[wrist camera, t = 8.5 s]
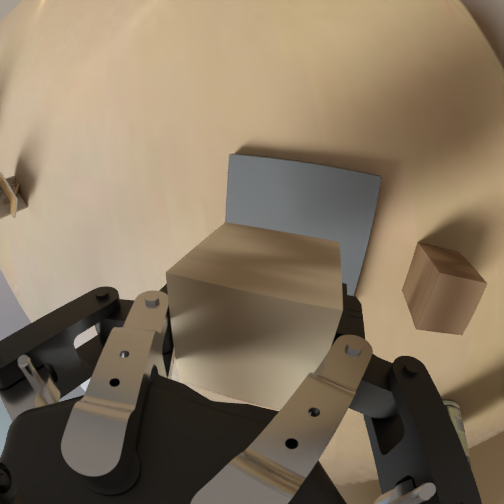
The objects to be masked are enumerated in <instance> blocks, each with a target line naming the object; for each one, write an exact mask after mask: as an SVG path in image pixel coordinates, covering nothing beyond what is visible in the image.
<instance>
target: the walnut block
mask: <svg viewBox="0 0 504 504" xmlns="http://www.w3.org/2000/svg"><path fill="white" fill-rule="evenodd" d="M486 285H487V283H486V281H485V280H484V279H483V278H482V277H481V276H480V274H479V273H478V272H477V271H476V270H475V269H474V268H473V267H472V265H471V264H470V263H469V262H468V261H467V260H466V259H465V258H464V257H463V256H462V255H461V254H460V253H459V252H455V251H451V250H447V249H443V248H439V247H435V246H431V245H427V244H423V243H417V246H416V249H415V253H414V256H413V259H412V262H411V265H410V268H409V271H408V274H407V277H406V280H405V283H404V286H403V288H402V292H403V294H404V297H405V299H406V302H407V305H408V308H409V310H410V313H411V316H412V319H413V322H414V325H415V328H416V329H418V330H426V331H433V332H441V333H449V334H457V335H463V333H464V331H465V329H466V327H467V325H468V323H469V322H470V320H471V318H472V316H473V314H474V312H475V310H476V308H477V305H478V303H479V301H480V299H481V297H482V295H483V292H484V290H485V288H486Z"/></svg>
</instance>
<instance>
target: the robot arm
mask: <svg viewBox="0 0 504 504" xmlns="http://www.w3.org/2000/svg"><path fill="white" fill-rule="evenodd" d="M342 295H343V312H342V315H341V318H340V321H339V324H338V327H337V330H336V333H335V336H334V339H333V342H332V345H331V348H330V350H329V351H328V353H327V354H326V356H325V357H324V359H323V360H322V362H321V363H320V365H319V366H318V368H317V369H316V371H315V372H314V373H312V372H310V373H309V374H308V375H307V377H306V378H305V379H304V381H303V382H302V383H301V385H300V386H299V387H298V388H297V390H296V391H295V392H294V394H293V395H292V396H291V397H290V399H289V400H288V401H287V403H286V404H285V405H284V406H283V407H282V409H281V410H280V411H275V410H270V409H266V408H261V407H257V406H253V405H249V404H238V403H225V402H215V401H211V400H209V399H207V398H206V397H204V396H202V395H201V394H199V393H197V392H196V391H194V390H192V389H191V388H189V387H188V386H186V385H185V384H182V383H179V382H176V381H174V380H171V376H172V370H173V364H174V359H175V351H174V344H173V336H172V328H171V320H170V311H169V302H168V291H167V284H166V285H165V286H164V287H163V288H162V289H161V290H160V291H147V292H144V293H141V294H140V295H138V296H137V297H136V299H135V301H133V300H122V299H119V294H118V291H117V290H116V289H115V288H112V287H99V288H96V289H94V290H92V291H90V292H88V293H86V294H84V295H82V296H81V297H79V298H77V299H75V300H73V301H71V302H69V303H67V304H65V305H64V306H62V307H60V308H58V309H56V310H54V311H53V312H51V313H49V314H47V315H45V316H43V317H42V318H40V319H38V320H36V321H34V322H33V323H31V324H29V325H27V326H26V327H24V328H22V329H20V330H19V331H17V332H15V333H13V334H12V335H10V336H9V337H7V338H5V339H3V340H1V341H0V397H1V399H2V401H3V403H4V405H5V407H6V409H7V411H8V413H9V415H10V417H11V419H12V421H13V422H12V424H11V425H10V427H9V430H8V433H7V438H6V443H5V446H4V449H3V452H2V455H1V457H0V504H346V502H345V501H344V499H343V498H342V496H341V495H340V493H339V492H338V490H337V489H336V487H335V485H334V484H333V482H332V481H331V479H330V478H329V476H328V475H327V473H326V472H325V470H324V468H323V467H322V465H321V464H320V462H319V460H318V459H319V458H320V456H321V455H322V453H323V452H324V450H325V448H326V447H327V445H328V443H329V442H330V440H331V438H332V437H333V435H334V433H335V432H336V430H337V428H338V426H339V424H340V423H341V421H342V419H343V417H344V415H345V413H346V411H347V410H348V408H350V409H353V410H355V411H357V412H360V413H362V414H364V420H365V423H366V427H367V431H368V435H369V439H370V443H371V447H372V451H373V455H374V460H375V464H376V468H377V473H378V478H379V482H380V487H381V492H382V495H381V496H380V497H379V498H377V500H376V501H375V503H374V504H482V503H481V498H480V495H479V492H478V488H477V485H476V482H475V479H474V476H473V473H472V470H471V467H470V465H469V462H468V459H467V456H466V454H465V451H464V449H463V446H462V444H461V441H460V439H459V436H458V434H457V432H456V429H455V427H454V425H453V422H452V420H451V418H450V416H449V413H448V411H447V409H446V407H445V405H444V403H443V401H442V399H441V397H440V395H439V392H438V390H437V388H436V386H435V384H434V383H433V381H432V379H431V377H430V375H429V373H428V371H427V369H426V367H425V366H424V364H423V363H422V362H421V361H419V360H418V359H416V358H414V357H410V356H400V357H398V358H396V359H395V360H394V362H393V363H391V362H388V361H386V360H383V359H381V358H378V357H377V356H375V355H374V354H373V350H372V347H371V345H370V344H369V343H368V342H367V341H366V340H365V332H364V323H363V314H362V306H361V303H360V302H359V300H358V299H357V297H356V296H350V295H347V284H346V283H342ZM94 325H95V327H96V331H97V334H98V335H97V336H95V337H94V338H92V339H91V340H89V341H87V342H86V343H84V344H83V345H81V346H80V347H78V348H76V349H75V347H74V339H75V338H76V336H77V335H79V334H81V333H82V332H84V331H85V330H87V329H89V328H90V327H92V326H94ZM89 378H91V379H90V382H89V385H88V387H87V390H86V392H85V395H83V396H80V397H76V398H72V399H69V400H65V401H61V402H59V399H61V398H62V397H63V396H65V395H66V394H68V393H69V392H71V391H72V390H74V389H75V388H76V387H78V386H79V385H81V384H82V383H84V382H85V381H86V380H88V379H89Z"/></svg>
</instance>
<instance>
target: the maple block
mask: <svg viewBox="0 0 504 504" xmlns="http://www.w3.org/2000/svg"><path fill="white" fill-rule="evenodd" d="M166 280H167V291H168V302H169V311H170V320H171V328H172V336H173V344H174V351H175V358H176V364H177V370H178V376H179V381H181V382H184V383H186V384H189V385H192V386H195V387H198V388H201V389H204V390H207V391H210V392H213V393H217V394H220V395H223V396H227V397H230V398H233V399H237V400H241V401H244V402H248V403H252V404H256V405H260V406H265V407H269V408H273V409H278V410H281V409H282V407H283V406H284V405H285V404H286V403H287V401H288V400H289V399H290V397H291V396H292V395H293V394H294V392H295V391H296V390H297V388H298V387H299V386H300V385H301V383H302V382H303V381H304V379H305V378H306V377H307V375H308V374H309V373H310V372H312V373H314V372H315V371H316V369H317V368H318V366H319V365H320V363H321V362H322V360H323V359H324V357H325V356H326V354H327V353H328V351H329V350H330V348H331V345H332V342H333V339H334V336H335V333H336V330H337V327H338V324H339V321H340V318H341V315H342V312H343V295H342V274H341V258H340V244H339V242H337V241H332V240H326V239H321V238H315V237H310V236H304V235H299V234H293V233H287V232H282V231H276V230H270V229H264V228H258V227H252V226H246V225H240V224H234V223H228V222H225V223H224V224H223V225H221V226H220V227H219V228H218V229H217V230H215V231H214V232H213V233H212V234H211V235H209V236H208V237H207V238H206V239H205V240H203V241H202V242H201V243H200V244H199V245H197V246H196V247H195V248H194V249H193V250H191V251H190V252H189V253H188V254H187V255H185V256H184V257H183V258H182V259H181V260H180V261H178V262H177V263H176V264H175V265H174V266H173V267H171V268H170V269H169V270H168V271H167V272H166Z"/></svg>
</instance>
